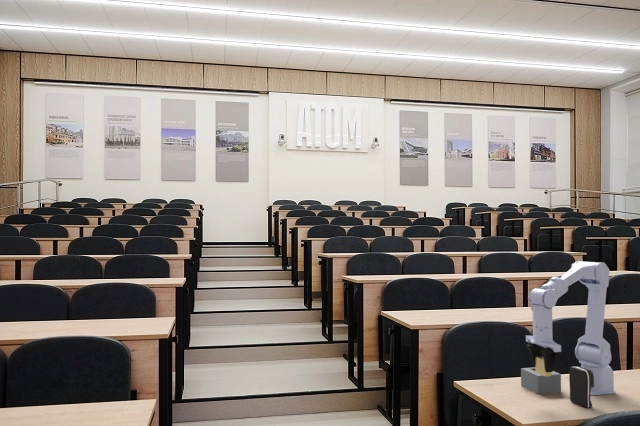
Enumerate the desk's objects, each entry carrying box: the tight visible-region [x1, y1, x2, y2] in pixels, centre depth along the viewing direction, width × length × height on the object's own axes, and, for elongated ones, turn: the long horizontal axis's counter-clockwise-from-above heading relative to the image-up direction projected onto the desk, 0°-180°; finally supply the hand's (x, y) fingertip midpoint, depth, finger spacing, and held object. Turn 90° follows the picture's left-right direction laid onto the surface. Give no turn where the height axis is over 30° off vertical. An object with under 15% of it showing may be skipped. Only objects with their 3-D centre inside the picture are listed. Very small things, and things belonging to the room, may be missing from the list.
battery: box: [568, 366, 594, 409], centre depth 153 cm, size 7×4×11 cm, turn 17°
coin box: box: [520, 366, 562, 395], centre depth 168 cm, size 9×9×6 cm
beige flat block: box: [535, 355, 551, 377], centre depth 155 cm, size 2×5×5 cm, turn 13°
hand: (543, 369), depth 155 cm, fingers closed on beige flat block, 5 cm apart
